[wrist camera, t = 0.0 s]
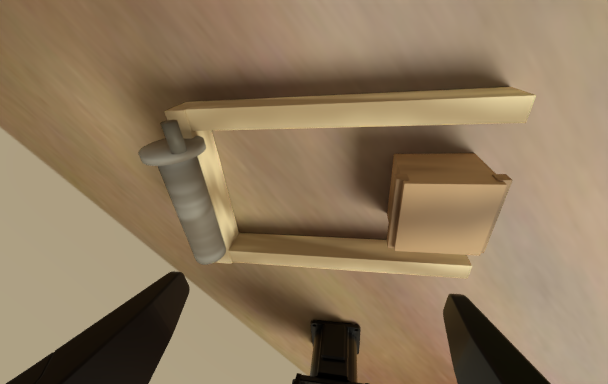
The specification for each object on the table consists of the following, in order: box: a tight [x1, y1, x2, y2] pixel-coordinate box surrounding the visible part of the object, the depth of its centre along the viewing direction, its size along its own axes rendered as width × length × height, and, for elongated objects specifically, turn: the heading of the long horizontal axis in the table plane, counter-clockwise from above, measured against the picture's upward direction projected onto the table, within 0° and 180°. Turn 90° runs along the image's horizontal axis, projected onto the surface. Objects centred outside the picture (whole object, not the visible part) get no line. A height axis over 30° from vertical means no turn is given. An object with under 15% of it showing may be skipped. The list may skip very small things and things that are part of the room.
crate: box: [387, 153, 512, 256], centre depth 20 cm, size 6×7×5 cm
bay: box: [138, 87, 536, 279], centre depth 21 cm, size 16×25×7 cm, turn 94°
